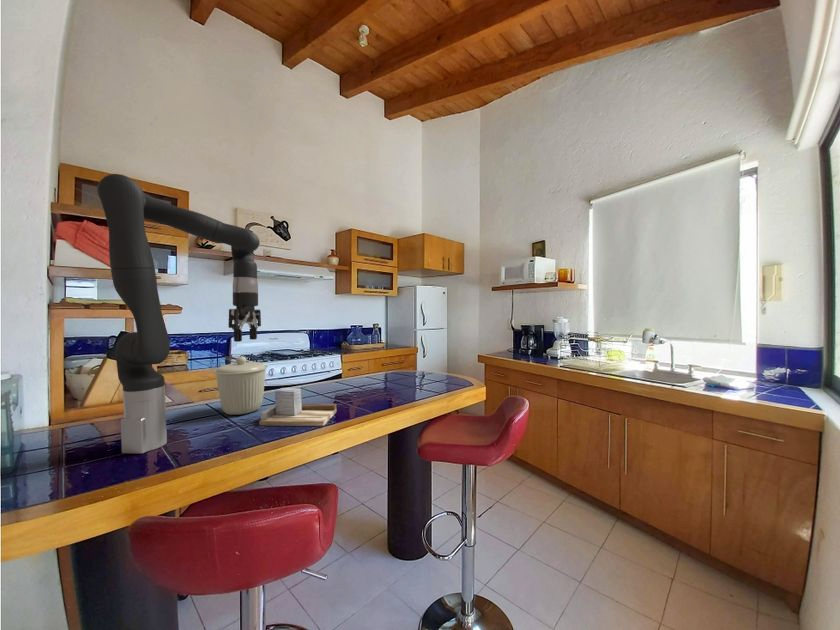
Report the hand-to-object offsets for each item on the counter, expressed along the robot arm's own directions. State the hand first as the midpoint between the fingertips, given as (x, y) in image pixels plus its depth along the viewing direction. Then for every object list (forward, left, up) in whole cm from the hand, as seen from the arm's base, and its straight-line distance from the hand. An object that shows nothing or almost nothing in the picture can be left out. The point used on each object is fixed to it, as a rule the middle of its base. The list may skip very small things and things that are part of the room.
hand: (245, 340), depth 109 cm
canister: (+16, +12, -29) cm, 35 cm away
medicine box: (+9, -10, -28) cm, 31 cm away
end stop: (+7, -4, -27) cm, 29 cm away
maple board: (+8, -14, -29) cm, 33 cm away
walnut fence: (+13, -14, -27) cm, 34 cm away
